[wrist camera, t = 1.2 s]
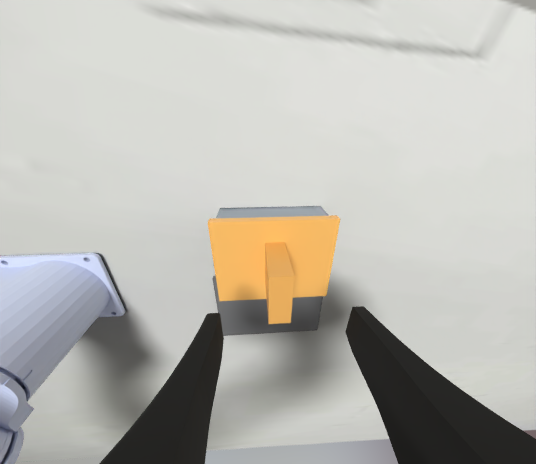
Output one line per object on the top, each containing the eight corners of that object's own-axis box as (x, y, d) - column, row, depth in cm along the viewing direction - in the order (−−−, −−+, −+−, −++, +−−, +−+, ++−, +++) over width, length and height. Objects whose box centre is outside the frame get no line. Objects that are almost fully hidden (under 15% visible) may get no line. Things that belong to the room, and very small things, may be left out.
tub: (227, 271, 21) (223, 292, 18) (220, 208, 17) (214, 222, 15) (312, 268, 21) (320, 288, 18) (320, 206, 18) (332, 219, 15)
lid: (221, 289, 19) (210, 344, 14) (211, 214, 15) (192, 253, 10) (321, 284, 19) (344, 336, 14) (332, 211, 16) (368, 247, 11)
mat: (222, 332, 25) (221, 335, 24) (213, 276, 21) (212, 278, 20) (316, 327, 26) (317, 330, 25) (325, 271, 21) (326, 273, 21)
